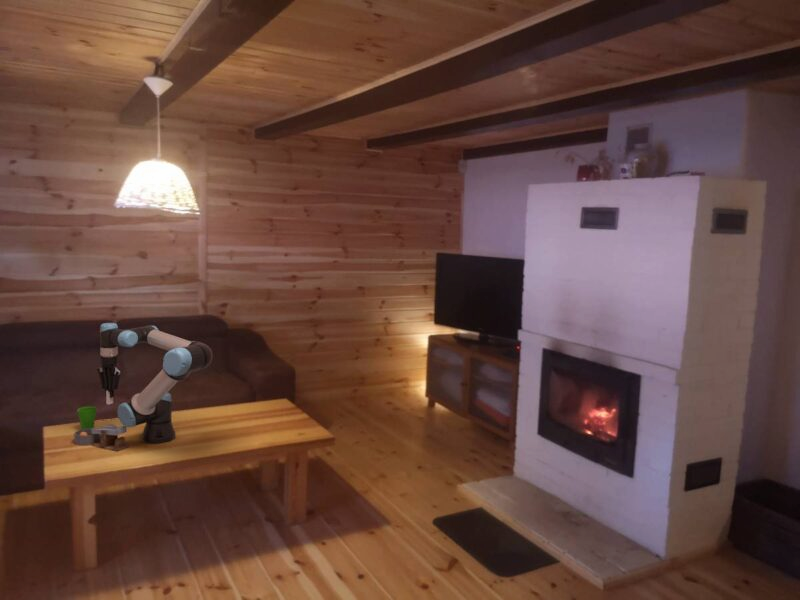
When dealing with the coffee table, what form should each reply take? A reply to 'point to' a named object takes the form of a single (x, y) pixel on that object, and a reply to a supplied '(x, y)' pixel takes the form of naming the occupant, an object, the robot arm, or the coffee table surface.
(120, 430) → the grey slab
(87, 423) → the cup
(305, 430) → the coffee table surface
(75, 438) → the dish
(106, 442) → the fulcrum
